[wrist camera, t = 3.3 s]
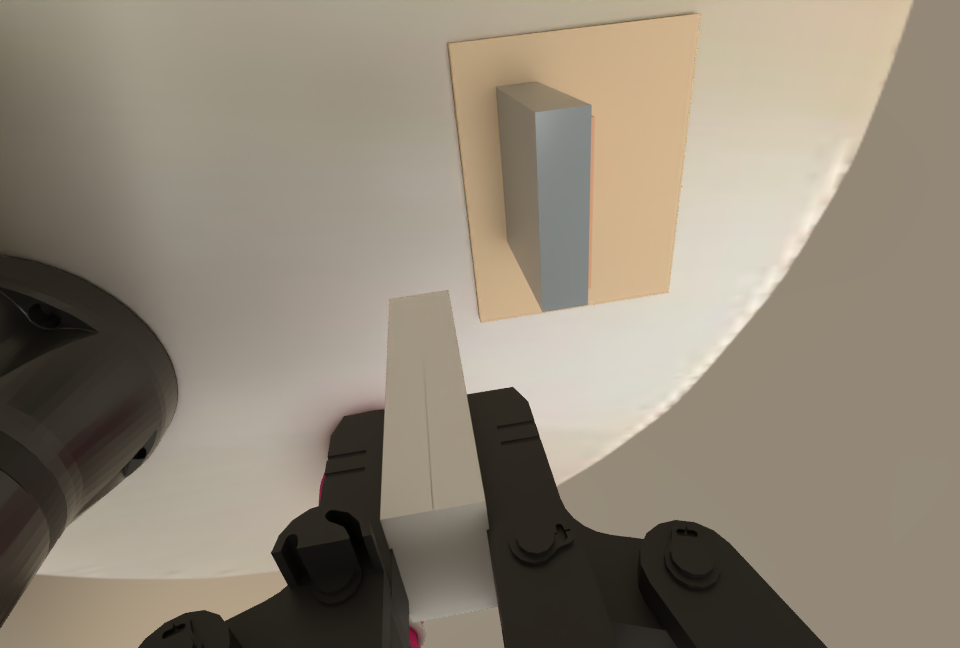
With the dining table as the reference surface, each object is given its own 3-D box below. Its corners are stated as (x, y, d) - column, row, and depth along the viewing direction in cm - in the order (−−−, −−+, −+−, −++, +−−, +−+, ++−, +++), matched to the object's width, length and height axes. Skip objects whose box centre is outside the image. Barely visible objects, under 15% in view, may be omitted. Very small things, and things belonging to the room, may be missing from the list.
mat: (479, 317, 31) (480, 322, 31) (447, 43, 23) (448, 43, 23) (664, 288, 32) (668, 292, 31) (694, 13, 24) (701, 13, 23)
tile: (507, 242, 28) (542, 312, 21) (495, 86, 24) (534, 112, 17) (547, 236, 28) (594, 303, 21) (542, 80, 24) (600, 103, 17)
